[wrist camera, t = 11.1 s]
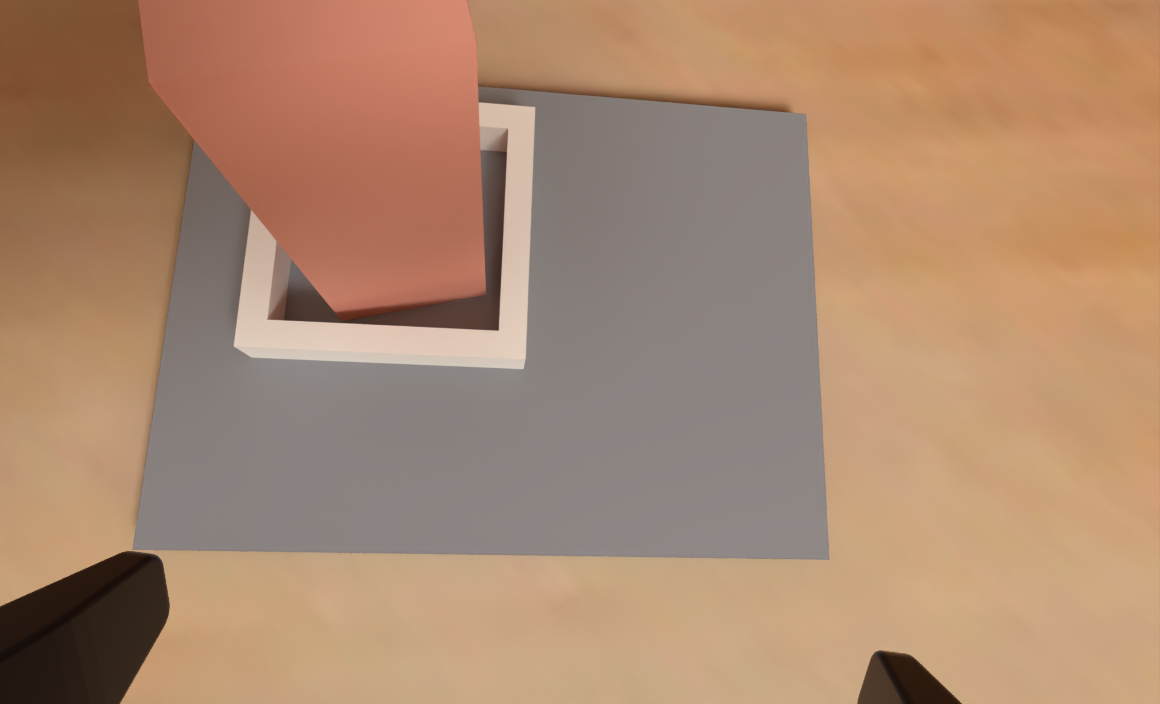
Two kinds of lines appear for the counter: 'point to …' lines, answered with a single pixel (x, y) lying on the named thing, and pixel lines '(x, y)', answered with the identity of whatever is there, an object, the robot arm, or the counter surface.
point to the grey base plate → (517, 359)
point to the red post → (339, 135)
